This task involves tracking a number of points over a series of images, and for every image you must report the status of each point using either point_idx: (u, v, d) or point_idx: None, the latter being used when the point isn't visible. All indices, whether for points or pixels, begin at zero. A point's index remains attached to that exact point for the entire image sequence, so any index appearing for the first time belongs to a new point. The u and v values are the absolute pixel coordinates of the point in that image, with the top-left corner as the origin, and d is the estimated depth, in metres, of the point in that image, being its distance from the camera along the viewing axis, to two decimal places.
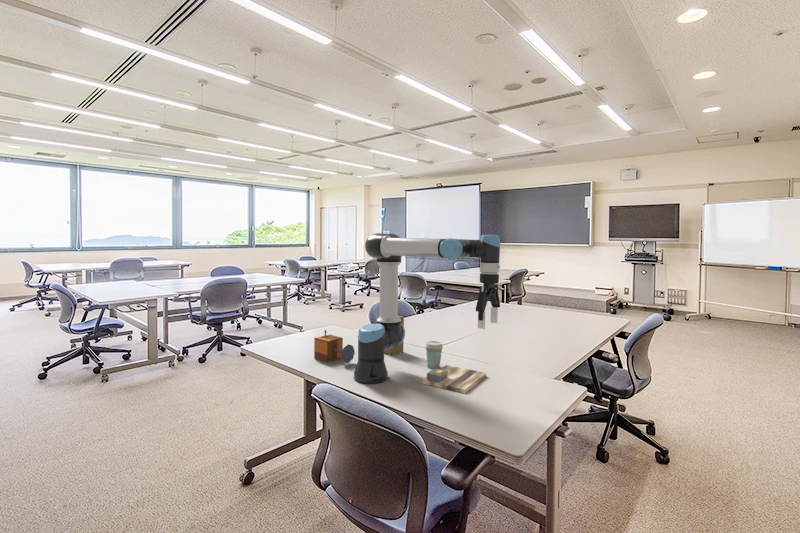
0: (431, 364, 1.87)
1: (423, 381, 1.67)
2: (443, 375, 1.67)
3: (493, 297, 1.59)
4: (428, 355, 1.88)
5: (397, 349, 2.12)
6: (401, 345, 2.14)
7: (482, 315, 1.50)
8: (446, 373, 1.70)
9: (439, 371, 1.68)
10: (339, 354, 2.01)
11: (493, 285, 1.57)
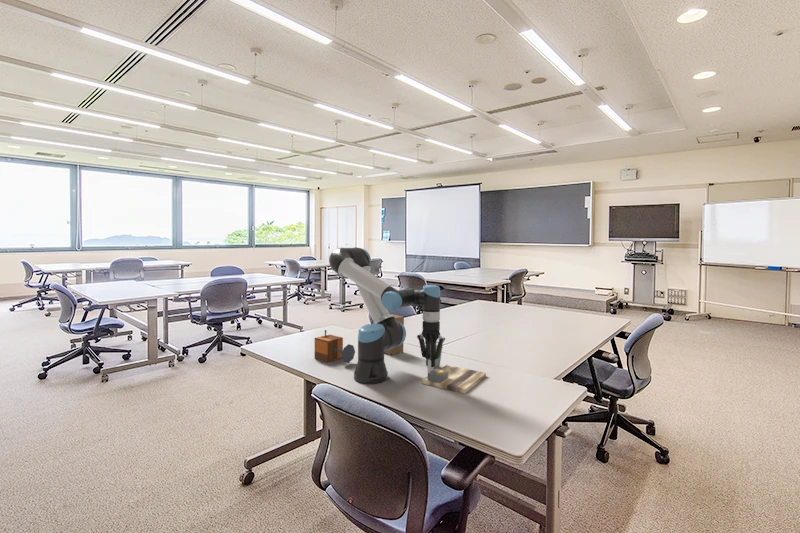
0: None
1: (423, 381, 1.67)
2: (444, 375, 1.67)
3: None
4: None
5: (397, 349, 2.12)
6: (401, 345, 2.14)
7: (427, 361, 1.70)
8: (447, 373, 1.70)
9: (440, 371, 1.68)
10: (339, 354, 2.01)
11: (435, 332, 1.67)
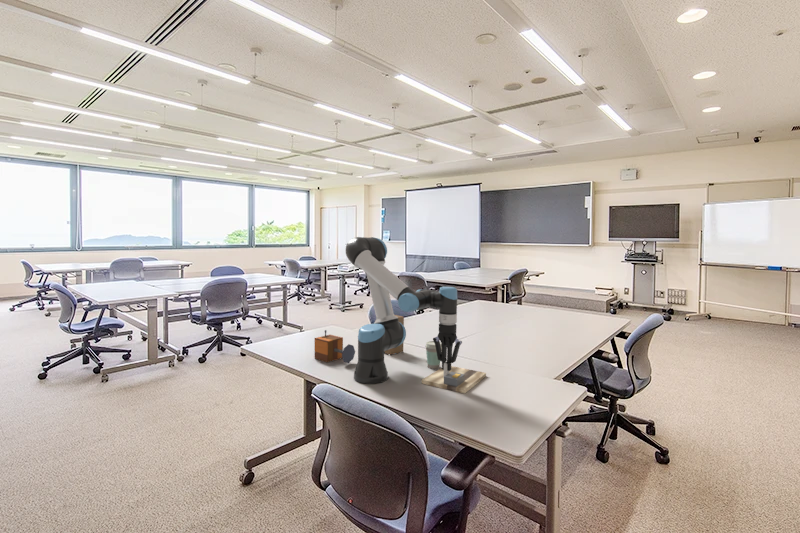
0: (431, 364, 1.87)
1: (423, 381, 1.67)
2: (460, 378, 1.63)
3: None
4: (428, 355, 1.88)
5: (397, 349, 2.12)
6: (401, 345, 2.14)
7: (443, 365, 1.66)
8: (463, 377, 1.66)
9: (456, 375, 1.64)
10: (339, 354, 2.01)
11: (452, 335, 1.63)
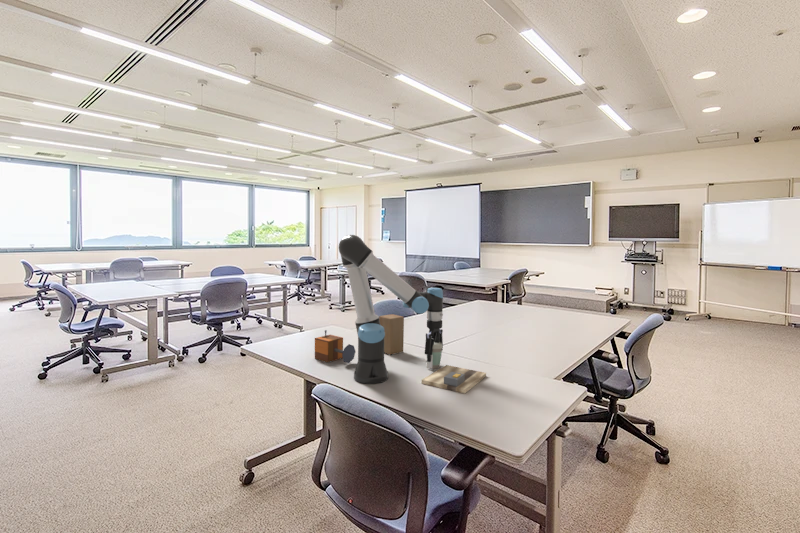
0: None
1: (423, 381, 1.67)
2: (460, 378, 1.63)
3: (437, 340, 1.91)
4: None
5: (397, 349, 2.12)
6: (401, 345, 2.14)
7: (430, 357, 1.85)
8: (463, 377, 1.65)
9: (456, 375, 1.64)
10: (339, 354, 2.01)
11: (438, 328, 1.90)
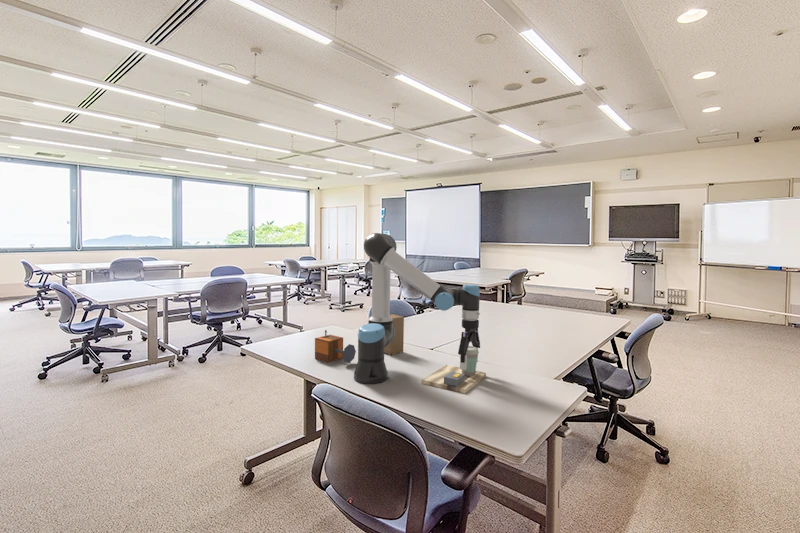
0: (467, 370, 1.73)
1: (423, 381, 1.67)
2: (460, 378, 1.63)
3: (474, 339, 1.78)
4: None
5: (397, 349, 2.12)
6: (401, 345, 2.14)
7: (464, 358, 1.69)
8: (463, 377, 1.65)
9: (456, 375, 1.64)
10: (340, 354, 2.01)
11: (474, 329, 1.76)
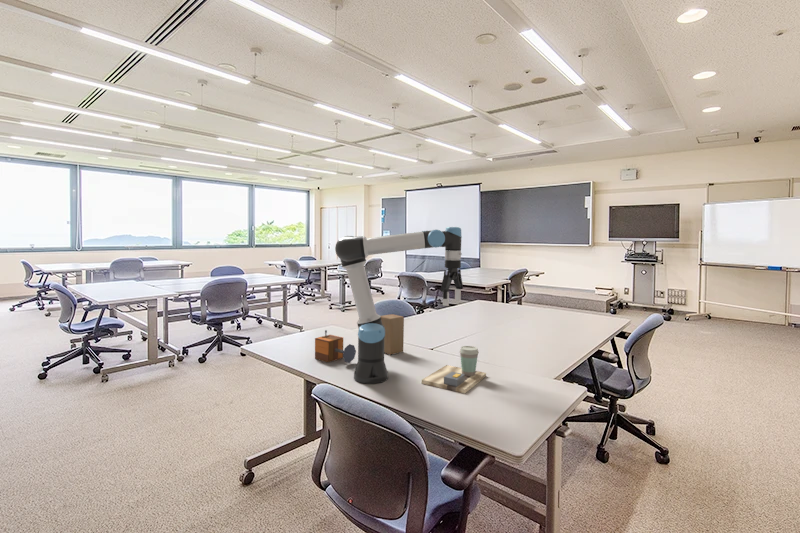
0: (467, 370, 1.73)
1: (423, 381, 1.67)
2: (460, 378, 1.63)
3: (456, 280, 1.88)
4: (463, 361, 1.73)
5: (397, 349, 2.12)
6: (401, 345, 2.14)
7: (446, 294, 1.78)
8: (463, 377, 1.65)
9: (456, 375, 1.64)
10: (340, 354, 2.01)
11: (456, 270, 1.86)
